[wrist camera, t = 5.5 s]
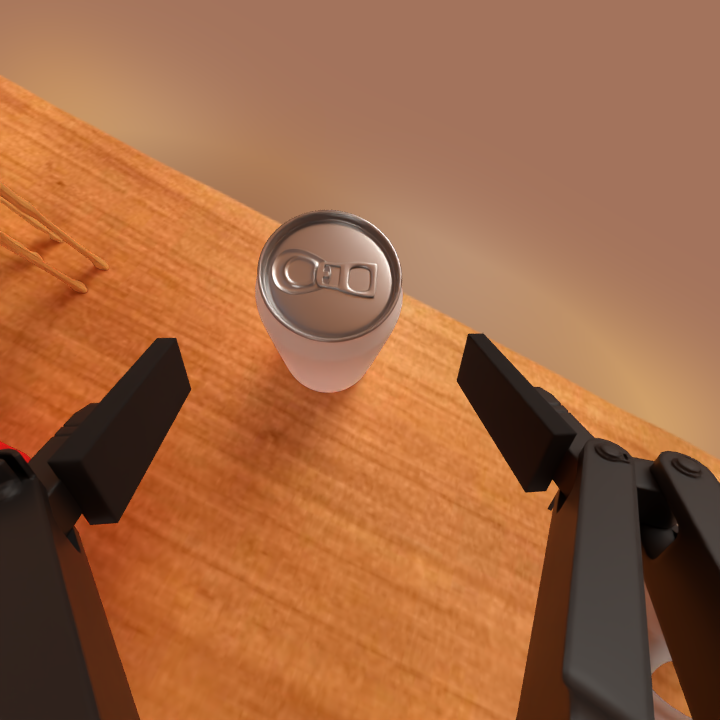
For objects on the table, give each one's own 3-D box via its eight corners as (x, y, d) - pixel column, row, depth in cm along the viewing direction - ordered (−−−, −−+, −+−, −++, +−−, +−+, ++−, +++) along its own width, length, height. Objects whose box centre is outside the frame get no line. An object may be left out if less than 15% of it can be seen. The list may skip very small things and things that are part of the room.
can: (290, 305, 25) (259, 189, 13) (374, 315, 25) (416, 212, 14) (278, 389, 23) (231, 343, 11) (368, 397, 24) (409, 362, 12)
